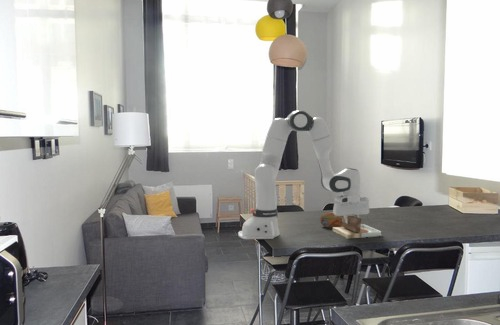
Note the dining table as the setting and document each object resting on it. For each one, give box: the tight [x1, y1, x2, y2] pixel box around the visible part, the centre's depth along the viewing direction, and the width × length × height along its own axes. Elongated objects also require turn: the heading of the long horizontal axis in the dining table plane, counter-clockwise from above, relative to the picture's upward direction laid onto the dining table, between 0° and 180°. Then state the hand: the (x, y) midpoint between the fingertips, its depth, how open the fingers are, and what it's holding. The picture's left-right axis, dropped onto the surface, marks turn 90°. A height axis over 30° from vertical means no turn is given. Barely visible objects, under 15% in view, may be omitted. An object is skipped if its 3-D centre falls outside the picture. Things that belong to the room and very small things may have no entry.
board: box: [332, 226, 362, 240], centre depth 193 cm, size 8×16×2 cm, turn 14°
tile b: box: [358, 228, 369, 233], centre depth 190 cm, size 5×5×2 cm
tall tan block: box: [341, 215, 362, 232], centre depth 193 cm, size 3×14×7 cm, turn 14°
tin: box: [319, 212, 343, 228], centre depth 210 cm, size 15×3×8 cm, turn 101°
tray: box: [360, 223, 383, 239], centre depth 195 cm, size 12×18×2 cm, turn 14°
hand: (351, 223), depth 193 cm, fingers closed on tall tan block, 3 cm apart
